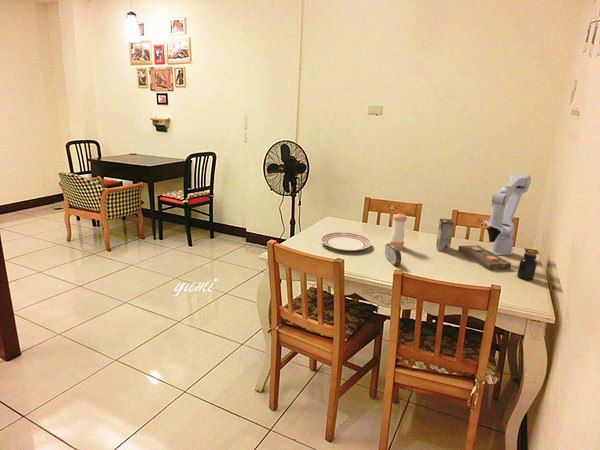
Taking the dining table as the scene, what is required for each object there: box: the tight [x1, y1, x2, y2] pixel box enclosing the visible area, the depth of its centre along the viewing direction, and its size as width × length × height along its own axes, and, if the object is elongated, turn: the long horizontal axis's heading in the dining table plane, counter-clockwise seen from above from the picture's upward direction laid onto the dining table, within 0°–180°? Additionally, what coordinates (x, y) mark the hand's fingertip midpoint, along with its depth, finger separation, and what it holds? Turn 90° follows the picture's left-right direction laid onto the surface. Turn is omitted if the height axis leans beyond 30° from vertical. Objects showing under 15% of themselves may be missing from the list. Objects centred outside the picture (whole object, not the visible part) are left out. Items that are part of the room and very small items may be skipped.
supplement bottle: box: [516, 251, 538, 282], centre depth 182 cm, size 7×7×12 cm
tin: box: [384, 242, 402, 266], centre depth 194 cm, size 15×3×8 cm, turn 9°
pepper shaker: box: [389, 212, 408, 250], centre depth 215 cm, size 7×7×19 cm
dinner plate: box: [320, 231, 372, 252], centre depth 215 cm, size 28×27×3 cm
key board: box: [457, 245, 512, 271], centre depth 204 cm, size 12×26×3 cm, turn 11°
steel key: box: [471, 247, 482, 252], centre depth 210 cm, size 4×4×3 cm
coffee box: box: [435, 218, 455, 253], centre depth 215 cm, size 9×6×16 cm
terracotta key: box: [486, 256, 498, 261], centre depth 198 cm, size 4×4×3 cm
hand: (491, 241), depth 203 cm, fingers closed
